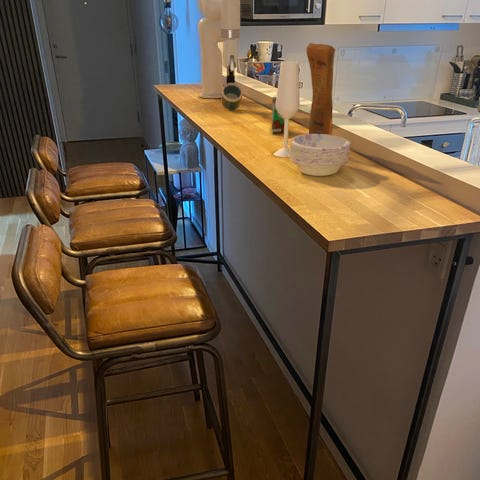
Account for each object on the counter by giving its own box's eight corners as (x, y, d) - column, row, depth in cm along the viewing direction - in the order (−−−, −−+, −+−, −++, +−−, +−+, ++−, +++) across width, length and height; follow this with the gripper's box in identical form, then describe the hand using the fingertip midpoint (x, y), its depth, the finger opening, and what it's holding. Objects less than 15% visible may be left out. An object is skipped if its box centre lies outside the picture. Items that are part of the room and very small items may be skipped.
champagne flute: (298, 152, 148) (304, 61, 135) (294, 158, 143) (300, 63, 130) (276, 150, 150) (280, 60, 137) (271, 156, 144) (274, 63, 131)
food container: (291, 135, 166) (293, 103, 161) (272, 135, 166) (273, 102, 161) (288, 127, 177) (290, 96, 171) (271, 127, 177) (272, 96, 171)
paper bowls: (333, 183, 123) (336, 150, 118) (278, 173, 130) (280, 142, 125) (355, 168, 134) (359, 137, 129) (304, 160, 140) (306, 130, 136)
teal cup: (220, 93, 206) (221, 83, 200) (239, 92, 207) (241, 82, 201) (222, 110, 204) (223, 100, 198) (241, 109, 205) (243, 100, 199)
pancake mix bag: (314, 157, 143) (323, 46, 128) (299, 141, 159) (305, 41, 144) (336, 156, 144) (348, 46, 129) (319, 141, 160) (328, 41, 145)
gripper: (218, 33, 199) (219, 84, 209) (222, 36, 187) (223, 89, 197) (237, 33, 200) (237, 84, 210) (242, 36, 188) (242, 89, 198)
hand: (230, 86), depth 203 cm, fingers closed
